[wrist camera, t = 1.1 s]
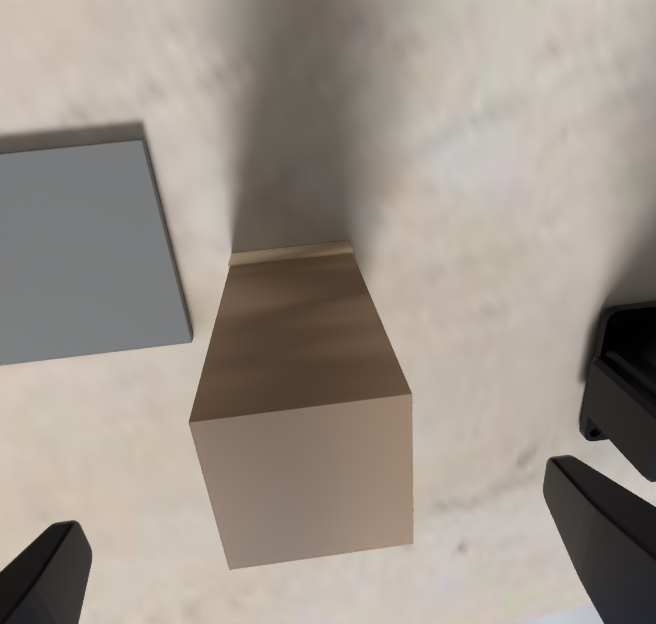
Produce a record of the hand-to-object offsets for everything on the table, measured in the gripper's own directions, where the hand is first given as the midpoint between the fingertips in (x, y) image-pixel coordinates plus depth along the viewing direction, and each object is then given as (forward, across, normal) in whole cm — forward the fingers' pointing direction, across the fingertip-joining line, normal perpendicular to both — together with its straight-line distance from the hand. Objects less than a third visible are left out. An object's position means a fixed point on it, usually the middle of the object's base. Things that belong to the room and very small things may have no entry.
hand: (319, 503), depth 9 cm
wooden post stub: (+9, 0, 0) cm, 9 cm away
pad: (+9, +8, -3) cm, 12 cm away
